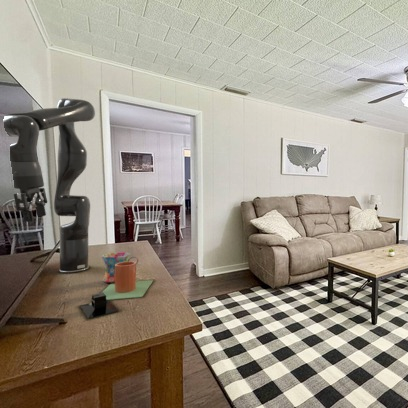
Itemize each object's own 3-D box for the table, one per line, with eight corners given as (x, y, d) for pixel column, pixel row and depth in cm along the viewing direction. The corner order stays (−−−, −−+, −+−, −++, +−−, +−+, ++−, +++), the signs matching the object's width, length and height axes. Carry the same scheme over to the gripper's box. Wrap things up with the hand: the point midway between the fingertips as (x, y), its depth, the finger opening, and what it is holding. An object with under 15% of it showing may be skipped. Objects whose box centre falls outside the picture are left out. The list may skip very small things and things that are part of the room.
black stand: (80, 306, 91) (80, 292, 91) (108, 300, 97) (108, 287, 96) (88, 319, 83) (88, 303, 83) (119, 311, 89) (119, 297, 89)
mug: (99, 285, 108) (99, 258, 107) (103, 279, 115) (103, 253, 115) (137, 281, 114) (138, 255, 114) (138, 275, 122) (139, 251, 122)
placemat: (111, 283, 111) (111, 282, 111) (153, 280, 117) (153, 280, 117) (92, 301, 95) (92, 300, 95) (142, 297, 100) (142, 296, 100)
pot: (118, 287, 107) (118, 261, 106) (137, 286, 109) (137, 261, 109) (112, 293, 101) (112, 266, 100) (133, 292, 103) (133, 265, 103)
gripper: (29, 175, 94) (39, 222, 97) (50, 172, 107) (58, 213, 110) (-2, 176, 91) (9, 224, 94) (23, 172, 104) (32, 215, 107)
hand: (35, 218), depth 102 cm, fingers open, 8 cm apart
